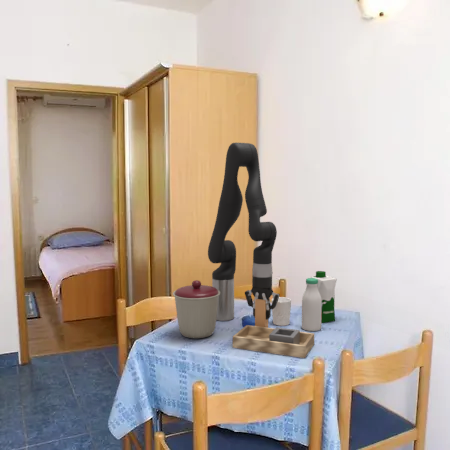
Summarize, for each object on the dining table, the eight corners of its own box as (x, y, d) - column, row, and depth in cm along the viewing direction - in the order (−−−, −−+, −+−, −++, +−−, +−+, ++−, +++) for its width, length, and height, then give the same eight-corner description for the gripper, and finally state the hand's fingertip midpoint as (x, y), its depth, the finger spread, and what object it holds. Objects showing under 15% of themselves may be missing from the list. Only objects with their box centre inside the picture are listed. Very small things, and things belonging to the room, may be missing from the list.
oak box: (232, 347, 169) (232, 336, 168) (246, 335, 182) (246, 325, 181) (304, 358, 159) (305, 346, 158) (314, 344, 171) (314, 333, 171)
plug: (254, 329, 182) (255, 299, 181) (258, 326, 186) (258, 296, 185) (264, 331, 181) (265, 300, 179) (268, 327, 185) (268, 297, 183)
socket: (269, 348, 166) (269, 334, 166) (276, 340, 174) (276, 327, 174) (293, 351, 163) (293, 337, 162) (299, 343, 171) (299, 330, 170)
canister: (183, 325, 194) (182, 274, 192) (226, 328, 190) (225, 276, 187) (166, 340, 177) (165, 284, 175) (213, 344, 172) (212, 287, 170)
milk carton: (325, 315, 206) (325, 270, 204) (338, 321, 198) (339, 273, 196) (308, 318, 202) (308, 271, 200) (321, 324, 194) (321, 276, 192)
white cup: (278, 327, 191) (278, 303, 190) (267, 322, 198) (267, 298, 197) (294, 324, 194) (294, 300, 193) (283, 319, 201) (283, 296, 200)
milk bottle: (321, 332, 184) (322, 281, 182) (301, 331, 186) (301, 280, 184) (321, 326, 192) (322, 277, 190) (302, 324, 193) (302, 276, 191)
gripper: (241, 274, 180) (240, 318, 182) (277, 278, 175) (276, 323, 177) (248, 270, 187) (247, 313, 189) (283, 274, 182) (282, 317, 184)
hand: (261, 318), depth 183 cm, fingers closed on plug, 4 cm apart
